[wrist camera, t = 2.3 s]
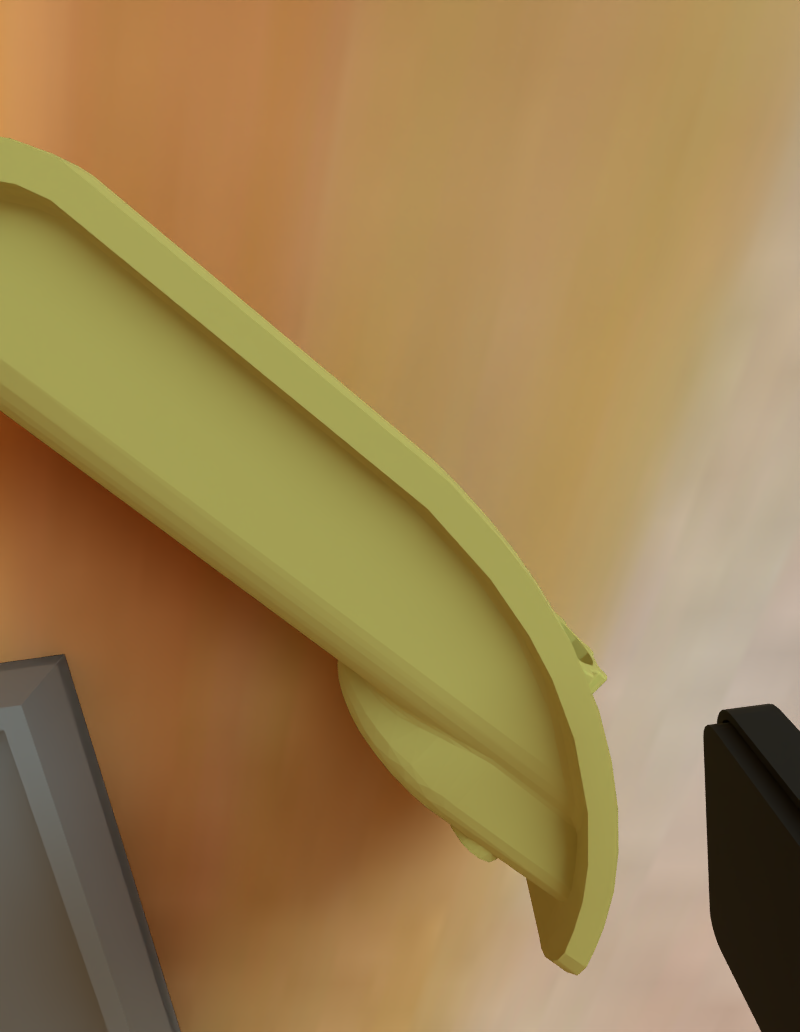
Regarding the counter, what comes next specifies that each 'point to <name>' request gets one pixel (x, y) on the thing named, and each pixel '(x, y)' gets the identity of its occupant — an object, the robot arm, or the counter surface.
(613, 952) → the counter surface
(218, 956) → the counter surface
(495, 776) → the plastic component
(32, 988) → the tray
